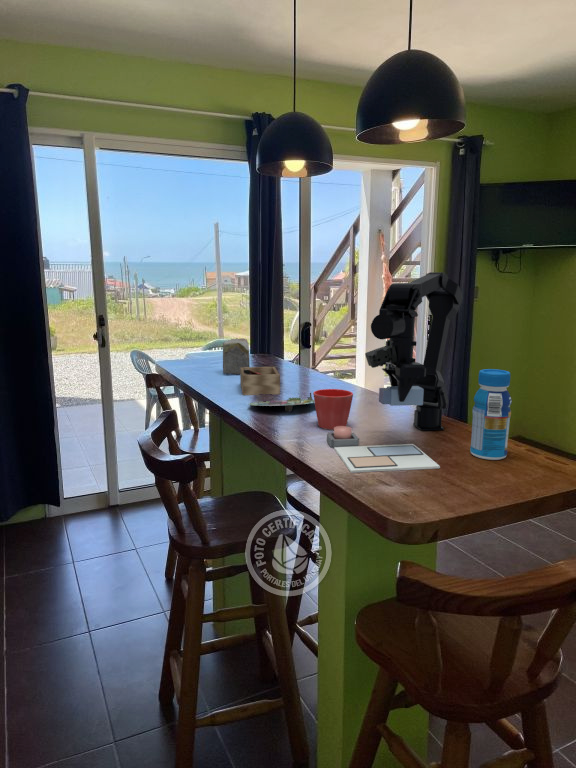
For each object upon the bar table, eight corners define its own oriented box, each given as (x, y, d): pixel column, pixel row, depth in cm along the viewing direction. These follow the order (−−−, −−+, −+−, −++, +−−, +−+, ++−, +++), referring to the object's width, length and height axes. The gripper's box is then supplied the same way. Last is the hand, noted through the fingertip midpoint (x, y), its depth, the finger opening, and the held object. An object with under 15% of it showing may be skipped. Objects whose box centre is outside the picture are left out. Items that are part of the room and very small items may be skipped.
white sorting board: (413, 445, 134) (413, 442, 134) (439, 468, 118) (440, 465, 118) (334, 449, 131) (334, 446, 131) (350, 472, 116) (350, 469, 116)
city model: (308, 403, 188) (307, 385, 188) (336, 410, 166) (335, 390, 166) (238, 410, 180) (237, 392, 179) (259, 419, 158) (257, 398, 157)
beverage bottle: (462, 453, 128) (467, 370, 124) (482, 447, 133) (488, 366, 129) (494, 463, 121) (501, 376, 117) (514, 456, 126) (522, 371, 122)
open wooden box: (274, 384, 208) (274, 366, 206) (279, 394, 191) (279, 374, 190) (240, 385, 206) (240, 367, 204) (243, 395, 189) (242, 375, 188)
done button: (348, 436, 138) (349, 425, 137) (353, 442, 133) (353, 430, 133) (332, 437, 137) (332, 426, 137) (335, 442, 133) (336, 431, 132)
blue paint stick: (416, 401, 136) (417, 385, 135) (422, 405, 132) (423, 389, 131) (378, 402, 135) (379, 386, 134) (383, 405, 131) (383, 389, 130)
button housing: (352, 439, 139) (352, 431, 139) (359, 447, 133) (359, 439, 132) (325, 440, 138) (326, 432, 138) (331, 448, 132) (331, 440, 131)
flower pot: (327, 419, 159) (327, 386, 157) (359, 425, 152) (360, 391, 150) (305, 426, 151) (305, 392, 149) (337, 434, 144) (338, 398, 142)
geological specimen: (224, 376, 225) (223, 340, 222) (222, 373, 231) (221, 338, 228) (250, 374, 228) (249, 339, 225) (247, 372, 234) (246, 337, 231)
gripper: (359, 332, 138) (357, 392, 141) (380, 340, 120) (377, 409, 123) (401, 332, 140) (398, 391, 143) (428, 340, 122) (424, 408, 124)
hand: (398, 399), depth 133 cm, fingers closed on blue paint stick, 4 cm apart
